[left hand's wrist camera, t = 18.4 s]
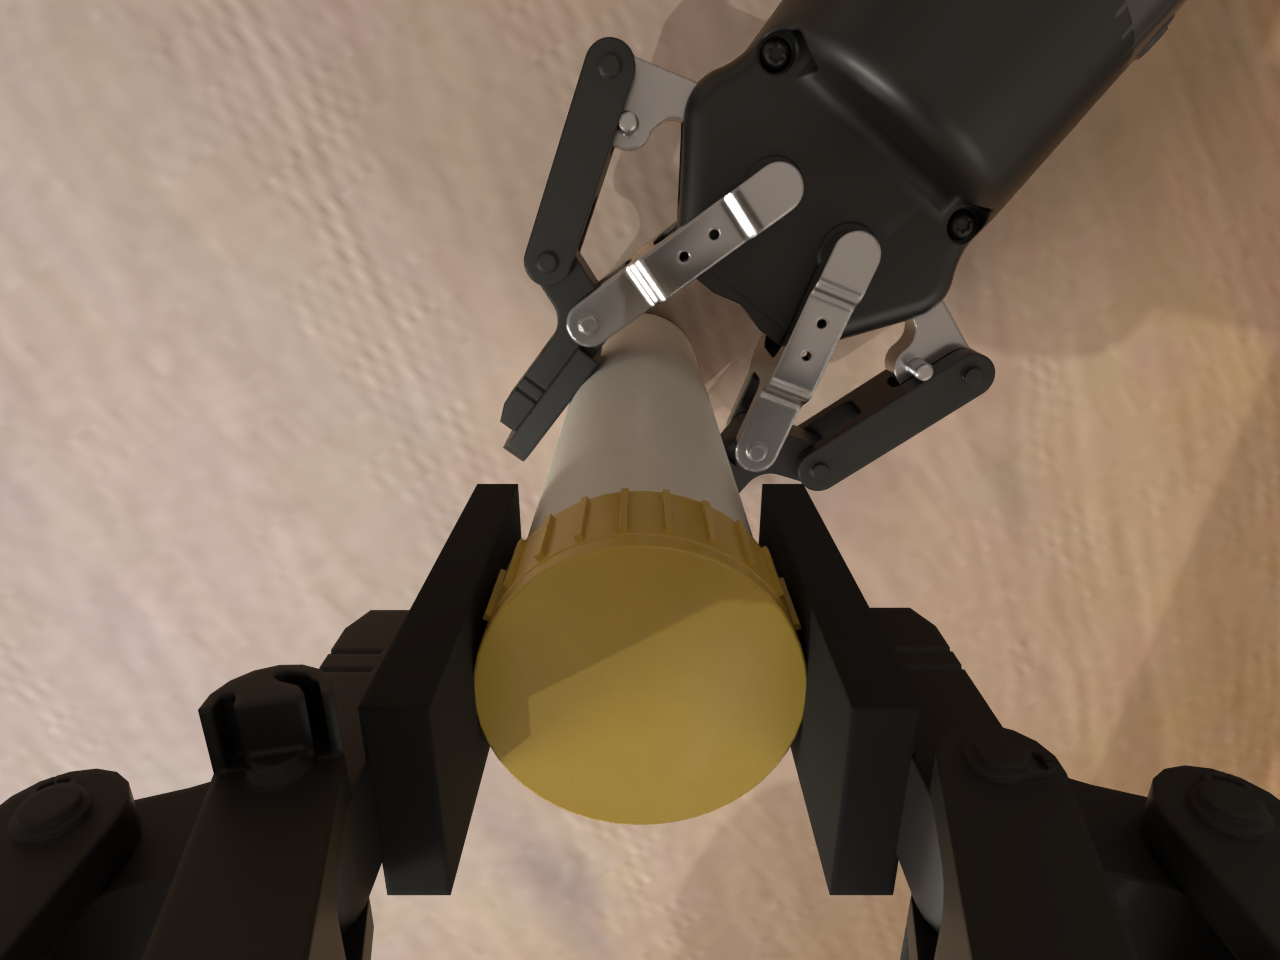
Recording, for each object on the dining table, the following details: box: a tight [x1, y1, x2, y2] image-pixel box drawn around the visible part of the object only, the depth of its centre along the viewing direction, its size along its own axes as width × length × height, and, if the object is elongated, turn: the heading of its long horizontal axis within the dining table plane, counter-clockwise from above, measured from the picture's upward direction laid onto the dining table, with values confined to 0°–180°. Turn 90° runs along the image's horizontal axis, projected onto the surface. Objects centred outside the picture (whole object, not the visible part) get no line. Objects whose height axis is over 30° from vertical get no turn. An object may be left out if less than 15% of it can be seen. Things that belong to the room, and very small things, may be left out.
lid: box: [474, 488, 807, 825], centre depth 11 cm, size 5×5×2 cm
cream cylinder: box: [528, 313, 753, 537], centre depth 20 cm, size 4×4×19 cm
